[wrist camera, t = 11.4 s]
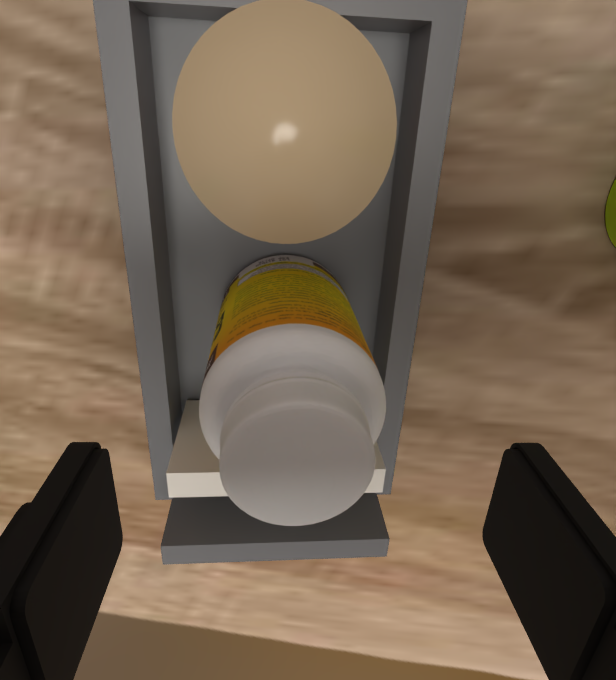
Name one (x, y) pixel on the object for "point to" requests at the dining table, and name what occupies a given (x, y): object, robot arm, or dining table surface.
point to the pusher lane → (267, 248)
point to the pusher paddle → (216, 462)
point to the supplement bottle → (291, 394)
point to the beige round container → (284, 121)
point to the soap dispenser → (611, 214)
